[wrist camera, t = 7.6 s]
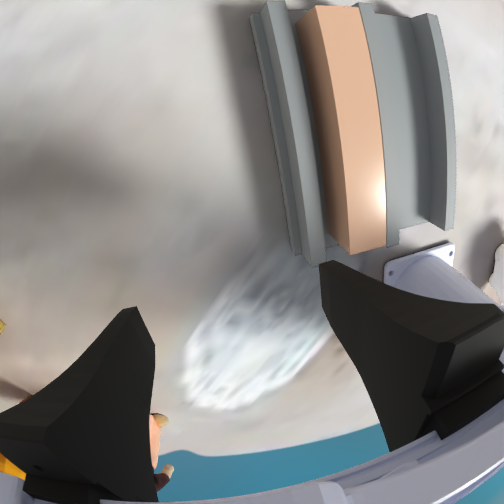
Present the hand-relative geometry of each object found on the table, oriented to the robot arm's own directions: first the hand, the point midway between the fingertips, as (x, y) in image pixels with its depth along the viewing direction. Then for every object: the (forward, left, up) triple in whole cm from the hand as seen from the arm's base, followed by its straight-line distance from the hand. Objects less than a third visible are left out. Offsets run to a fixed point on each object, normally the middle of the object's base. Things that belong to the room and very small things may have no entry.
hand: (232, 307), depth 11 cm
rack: (+5, -11, -9) cm, 15 cm away
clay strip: (+5, -8, -8) cm, 13 cm away
